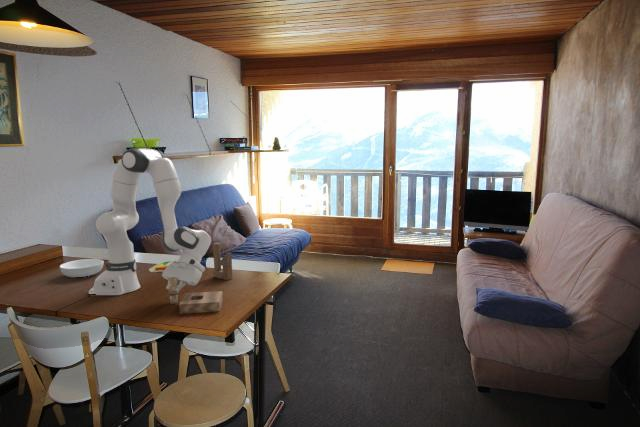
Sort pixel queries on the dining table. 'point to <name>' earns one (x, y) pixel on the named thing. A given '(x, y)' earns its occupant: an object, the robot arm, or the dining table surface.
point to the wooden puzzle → (160, 267)
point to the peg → (172, 290)
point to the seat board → (201, 302)
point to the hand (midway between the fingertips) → (172, 290)
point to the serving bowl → (82, 267)
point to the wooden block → (222, 264)
